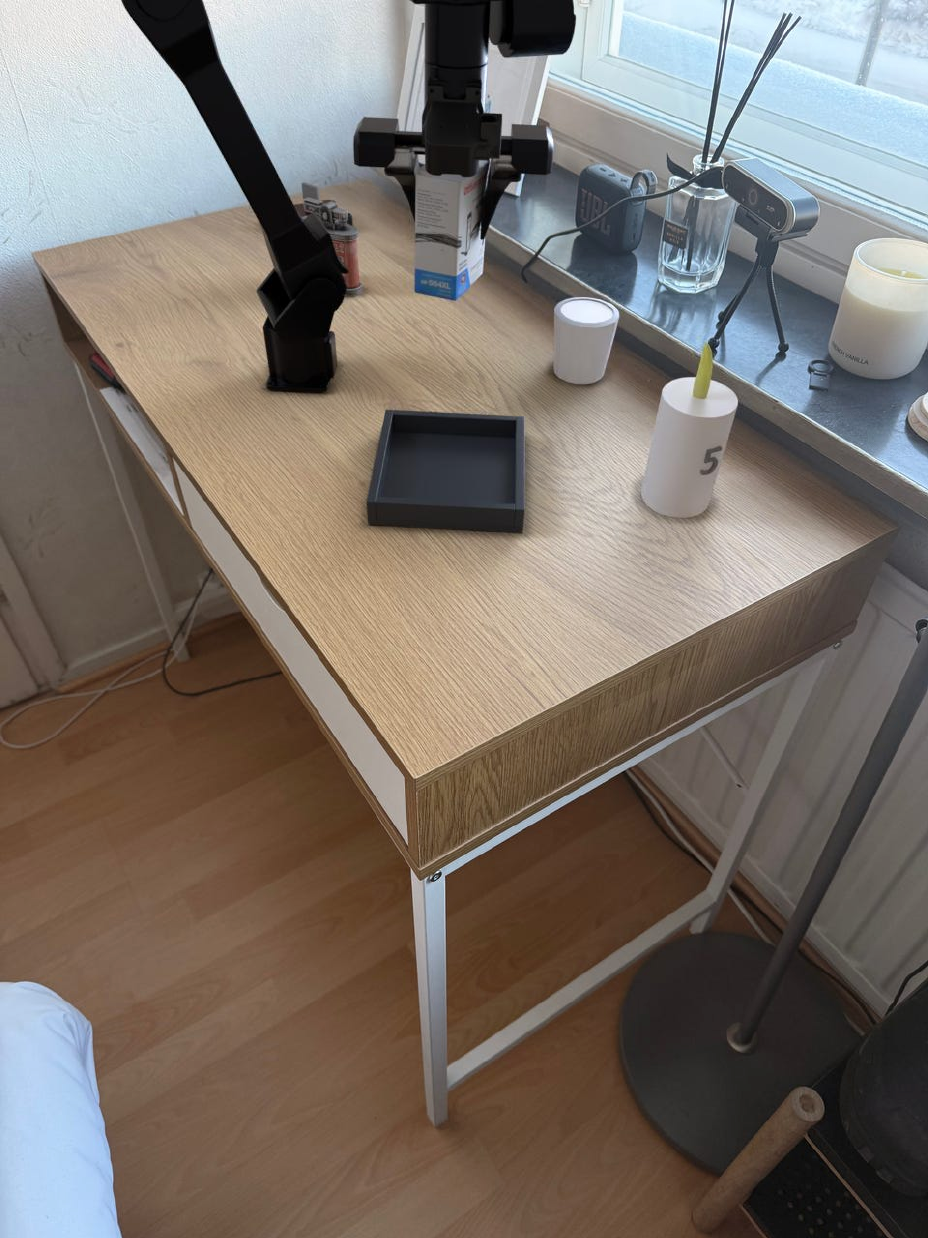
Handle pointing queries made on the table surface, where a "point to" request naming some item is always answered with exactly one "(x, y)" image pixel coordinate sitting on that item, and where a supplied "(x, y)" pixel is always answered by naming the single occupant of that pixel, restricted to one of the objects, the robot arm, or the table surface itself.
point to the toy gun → (312, 192)
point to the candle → (688, 442)
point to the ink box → (448, 232)
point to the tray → (449, 472)
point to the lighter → (339, 238)
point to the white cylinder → (583, 338)
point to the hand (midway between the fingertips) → (451, 236)
